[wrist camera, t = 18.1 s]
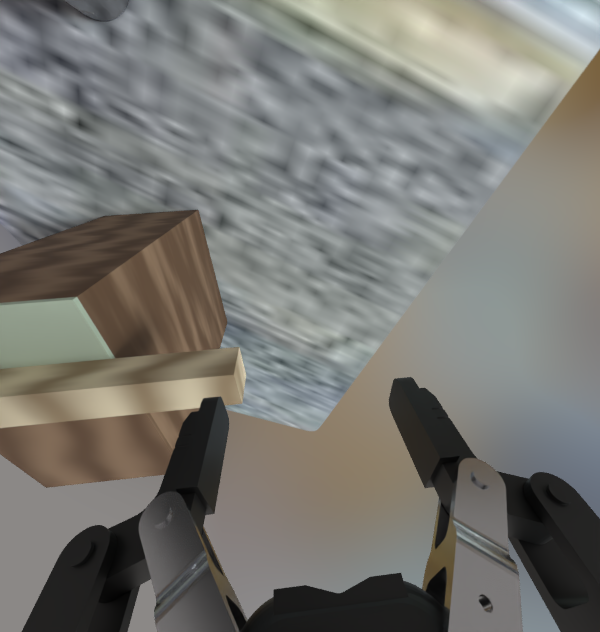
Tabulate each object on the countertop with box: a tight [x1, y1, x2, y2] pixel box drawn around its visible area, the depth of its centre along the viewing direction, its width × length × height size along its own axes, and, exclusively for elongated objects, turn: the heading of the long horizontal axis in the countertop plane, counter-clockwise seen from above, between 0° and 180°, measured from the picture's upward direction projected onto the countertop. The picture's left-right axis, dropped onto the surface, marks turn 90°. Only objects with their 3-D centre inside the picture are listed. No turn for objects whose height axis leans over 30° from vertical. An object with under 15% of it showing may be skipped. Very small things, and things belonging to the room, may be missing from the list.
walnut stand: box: [0, 210, 227, 488], centre depth 36 cm, size 16×24×32 cm, turn 3°
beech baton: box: [0, 347, 246, 428], centre depth 19 cm, size 26×3×3 cm, turn 93°
